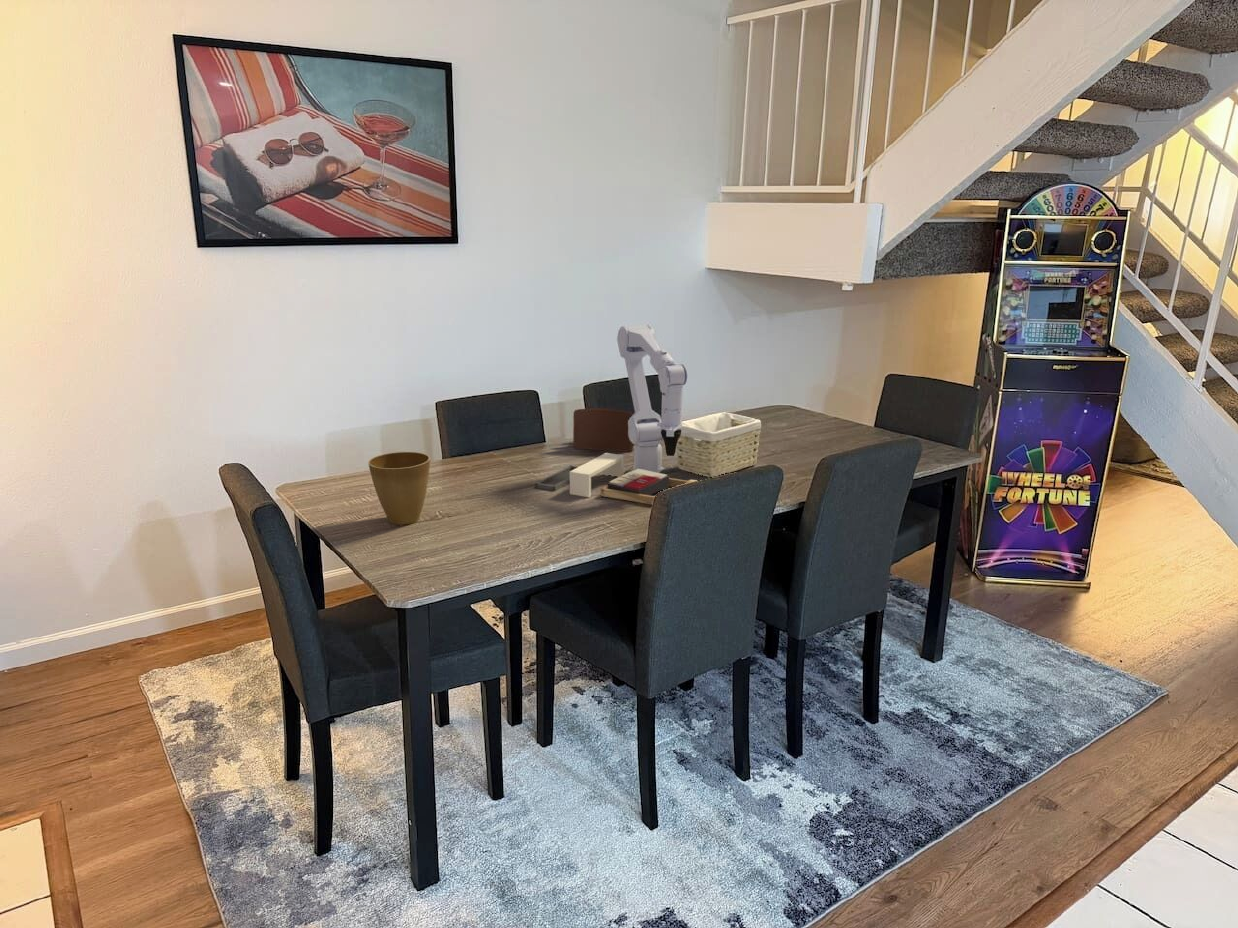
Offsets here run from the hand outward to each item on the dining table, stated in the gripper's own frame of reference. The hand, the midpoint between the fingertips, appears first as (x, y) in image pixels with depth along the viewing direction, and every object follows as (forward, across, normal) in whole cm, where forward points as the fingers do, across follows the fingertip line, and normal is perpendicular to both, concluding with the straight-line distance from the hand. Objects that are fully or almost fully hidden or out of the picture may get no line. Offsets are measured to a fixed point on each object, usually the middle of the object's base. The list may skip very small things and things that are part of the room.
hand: (670, 455), depth 248 cm
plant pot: (+10, +37, -66) cm, 76 cm away
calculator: (+9, +5, -8) cm, 14 cm away
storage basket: (+10, -22, +13) cm, 28 cm away
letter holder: (+10, -42, -23) cm, 49 cm away
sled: (+9, +7, -5) cm, 12 cm away
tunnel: (+9, -1, -26) cm, 28 cm away
